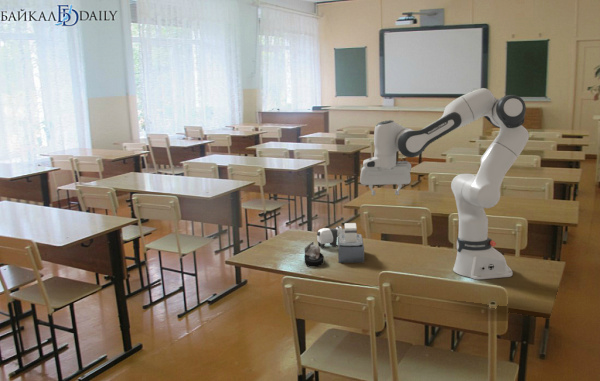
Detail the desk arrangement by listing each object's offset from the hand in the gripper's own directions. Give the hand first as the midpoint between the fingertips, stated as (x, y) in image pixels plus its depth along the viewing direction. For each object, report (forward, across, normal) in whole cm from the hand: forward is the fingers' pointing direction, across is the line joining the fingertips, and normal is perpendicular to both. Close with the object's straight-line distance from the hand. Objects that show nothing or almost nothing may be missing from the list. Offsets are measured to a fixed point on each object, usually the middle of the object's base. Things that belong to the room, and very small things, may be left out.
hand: (385, 195), depth 219 cm
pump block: (+24, +14, -13) cm, 30 cm away
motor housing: (+31, +14, -13) cm, 36 cm away
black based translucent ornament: (+31, +30, -6) cm, 44 cm away
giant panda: (+31, +23, -29) cm, 48 cm away
